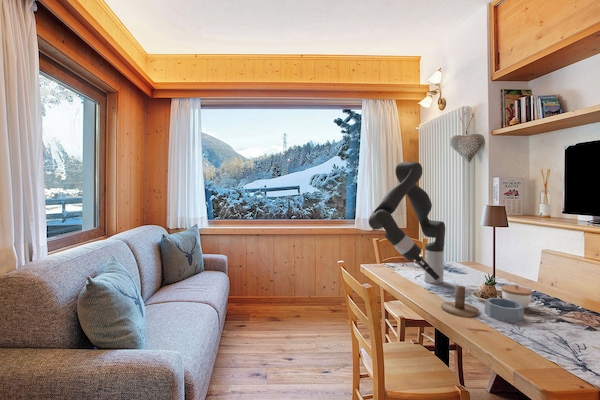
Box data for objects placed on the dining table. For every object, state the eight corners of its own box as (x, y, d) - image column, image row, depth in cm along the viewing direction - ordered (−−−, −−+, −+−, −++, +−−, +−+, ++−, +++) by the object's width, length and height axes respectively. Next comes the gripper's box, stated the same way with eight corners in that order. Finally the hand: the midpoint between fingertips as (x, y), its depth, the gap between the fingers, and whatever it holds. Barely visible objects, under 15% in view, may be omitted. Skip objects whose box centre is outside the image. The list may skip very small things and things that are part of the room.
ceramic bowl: (493, 307, 133) (494, 296, 133) (526, 317, 124) (527, 304, 124) (480, 313, 126) (481, 301, 126) (514, 324, 117) (515, 311, 117)
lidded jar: (526, 304, 138) (526, 283, 138) (535, 313, 128) (536, 290, 128) (498, 301, 142) (498, 280, 141) (505, 309, 131) (505, 287, 131)
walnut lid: (451, 302, 140) (452, 280, 140) (485, 312, 129) (486, 288, 128) (434, 308, 132) (435, 285, 131) (468, 320, 121) (469, 294, 120)
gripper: (417, 244, 125) (446, 274, 124) (410, 239, 139) (437, 265, 138) (403, 257, 126) (432, 286, 125) (397, 250, 140) (424, 277, 139)
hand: (434, 275), depth 131 cm, fingers open, 8 cm apart
